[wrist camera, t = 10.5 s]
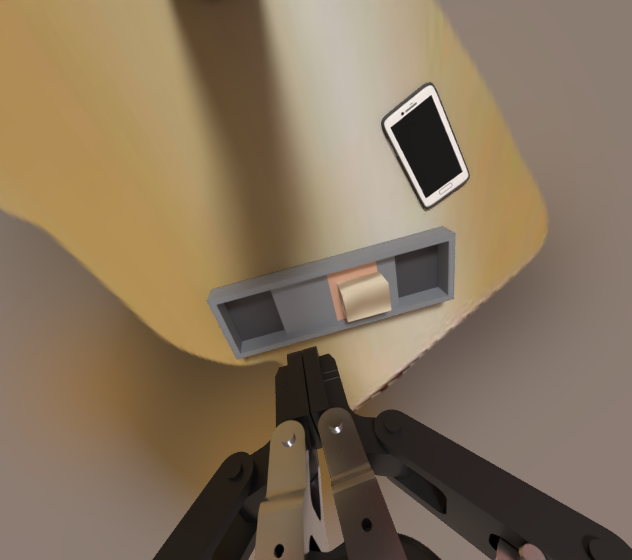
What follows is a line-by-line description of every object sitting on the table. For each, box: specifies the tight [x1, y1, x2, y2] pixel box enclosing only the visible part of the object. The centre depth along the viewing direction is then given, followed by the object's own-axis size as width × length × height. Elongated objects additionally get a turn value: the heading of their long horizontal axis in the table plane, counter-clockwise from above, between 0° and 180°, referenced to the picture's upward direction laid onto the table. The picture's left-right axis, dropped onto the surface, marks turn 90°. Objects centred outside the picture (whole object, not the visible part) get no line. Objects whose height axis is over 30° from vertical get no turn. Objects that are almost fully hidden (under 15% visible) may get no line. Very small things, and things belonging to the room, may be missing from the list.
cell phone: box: [381, 82, 470, 208], centre depth 38 cm, size 8×15×1 cm, turn 37°
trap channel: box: [207, 226, 455, 359], centre depth 44 cm, size 12×38×4 cm, turn 103°
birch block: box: [337, 272, 391, 322], centre depth 43 cm, size 5×7×4 cm
